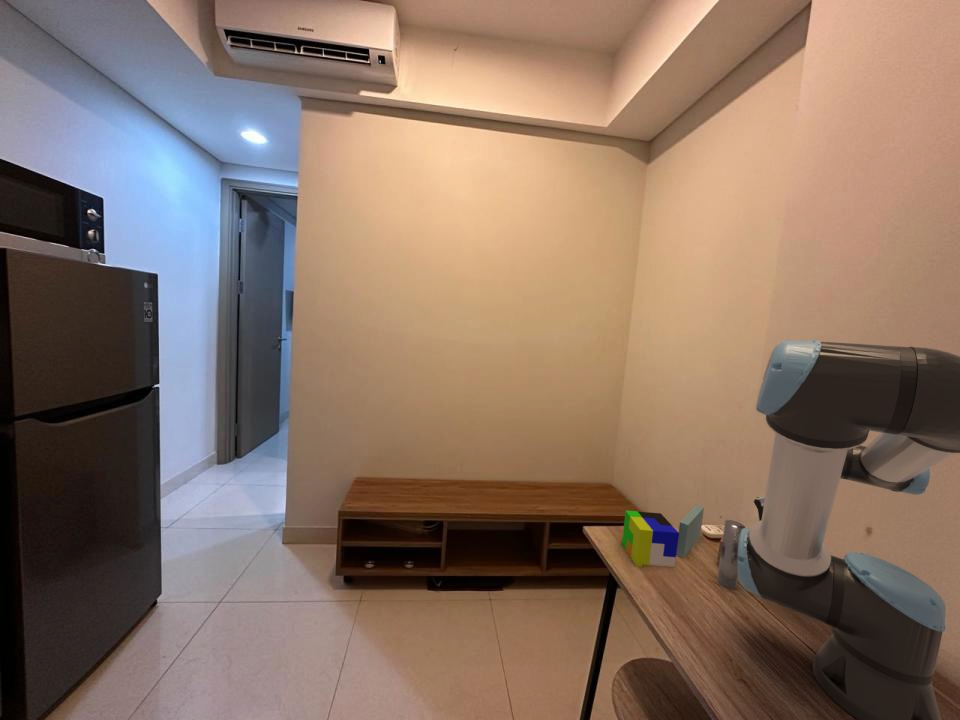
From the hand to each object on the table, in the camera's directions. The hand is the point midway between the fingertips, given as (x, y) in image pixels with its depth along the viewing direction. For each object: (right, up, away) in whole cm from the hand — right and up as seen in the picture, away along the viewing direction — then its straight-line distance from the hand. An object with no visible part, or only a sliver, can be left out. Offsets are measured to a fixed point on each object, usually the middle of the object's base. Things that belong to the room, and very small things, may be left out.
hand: (776, 570), depth 92 cm
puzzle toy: (-29, -1, +8) cm, 30 cm away
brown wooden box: (-5, -2, +5) cm, 8 cm away
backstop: (-8, -2, +7) cm, 11 cm away
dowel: (-14, -3, -2) cm, 14 cm away
